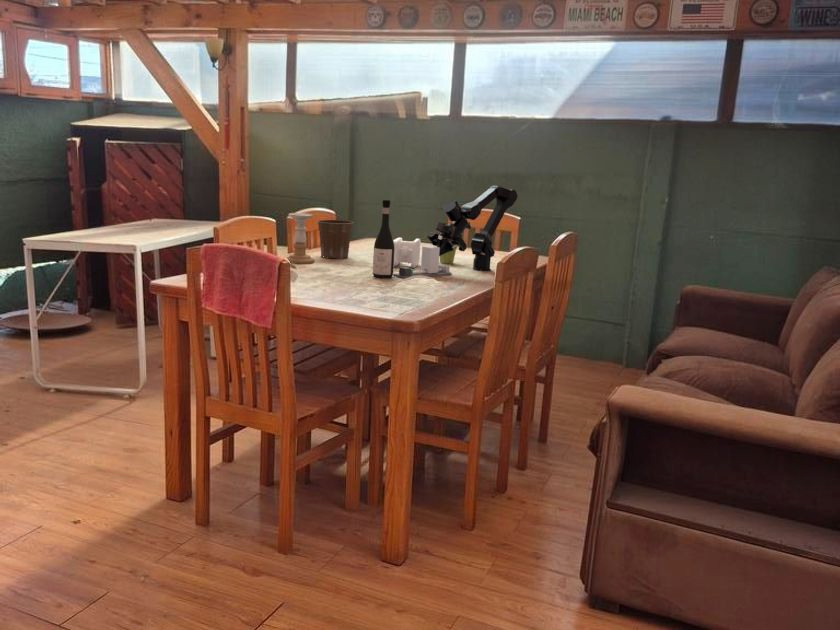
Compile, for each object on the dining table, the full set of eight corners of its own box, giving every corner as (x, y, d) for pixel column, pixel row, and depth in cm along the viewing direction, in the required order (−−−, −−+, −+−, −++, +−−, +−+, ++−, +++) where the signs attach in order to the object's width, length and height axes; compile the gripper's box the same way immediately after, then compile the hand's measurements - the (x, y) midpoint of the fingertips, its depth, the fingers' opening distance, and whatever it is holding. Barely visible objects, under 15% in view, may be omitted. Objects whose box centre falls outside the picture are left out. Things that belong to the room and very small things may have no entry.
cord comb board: (438, 271, 304) (438, 262, 303) (451, 274, 298) (452, 265, 298) (393, 275, 287) (393, 266, 286) (406, 279, 282) (407, 269, 281)
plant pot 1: (308, 255, 326) (309, 219, 322) (334, 253, 338) (336, 218, 334) (333, 260, 316) (334, 224, 312) (359, 258, 328) (361, 222, 324)
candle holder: (290, 258, 315) (291, 212, 311) (317, 260, 314) (319, 214, 309) (281, 262, 303) (282, 214, 299) (309, 264, 302) (310, 216, 297)
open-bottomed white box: (429, 270, 298) (431, 245, 296) (438, 272, 295) (439, 247, 293) (420, 271, 295) (422, 246, 293) (429, 273, 292) (430, 248, 289)
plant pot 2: (460, 263, 331) (461, 244, 329) (450, 265, 324) (451, 246, 322) (443, 260, 336) (444, 242, 334) (432, 262, 328) (433, 243, 326)
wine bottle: (390, 279, 280) (394, 201, 273) (370, 277, 281) (373, 199, 274) (394, 276, 287) (398, 200, 281) (375, 274, 289) (379, 198, 282)
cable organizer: (414, 269, 307) (416, 242, 304) (390, 267, 308) (391, 240, 305) (419, 264, 321) (421, 238, 319) (396, 262, 323) (397, 236, 320)
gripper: (431, 213, 302) (410, 240, 297) (464, 217, 289) (442, 246, 284) (443, 231, 309) (423, 258, 304) (475, 237, 296) (455, 265, 291)
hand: (435, 256), depth 296 cm, fingers closed
